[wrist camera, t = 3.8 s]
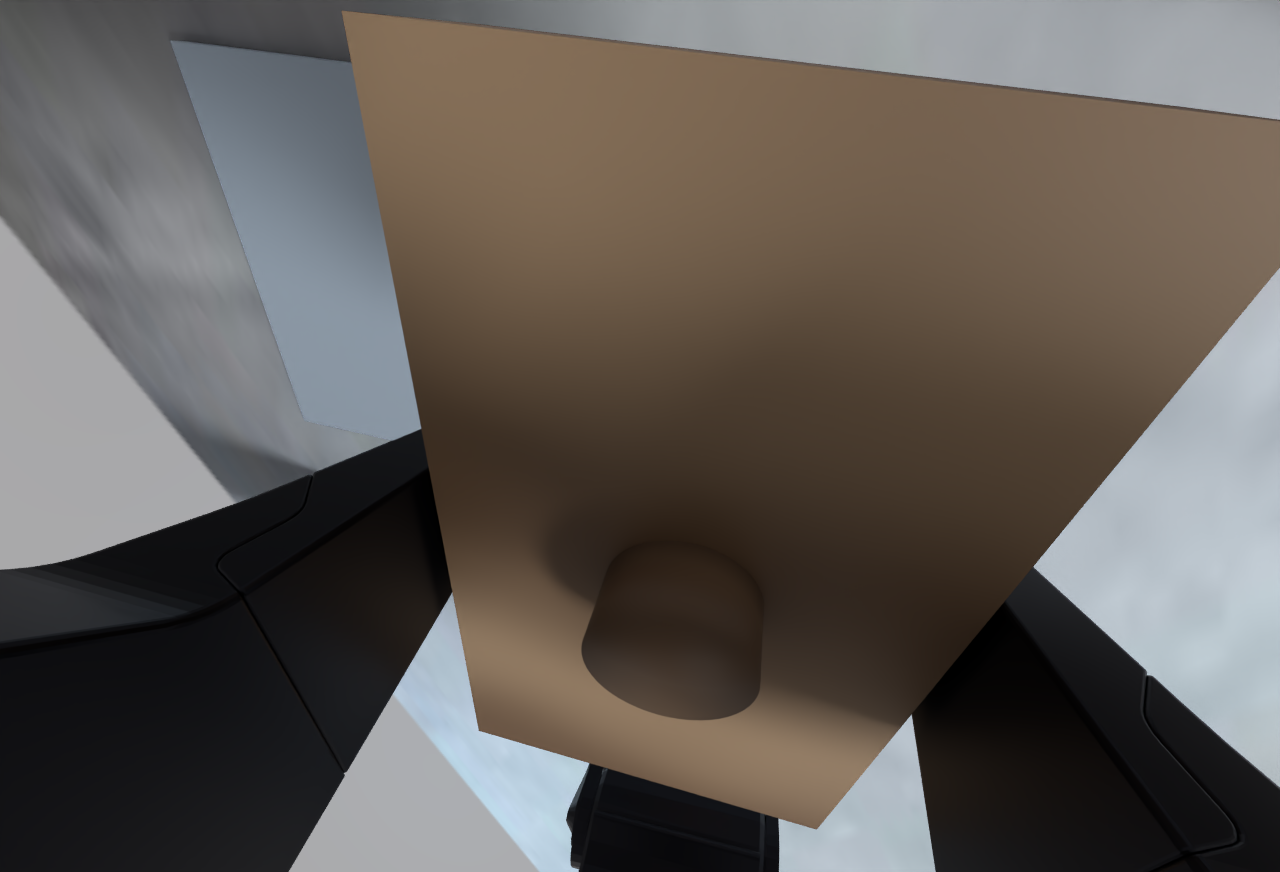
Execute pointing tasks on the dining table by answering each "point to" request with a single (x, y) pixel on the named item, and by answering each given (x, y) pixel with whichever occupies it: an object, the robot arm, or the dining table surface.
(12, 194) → the dining table surface
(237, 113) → the mat
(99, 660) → the robot arm
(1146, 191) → the lid
